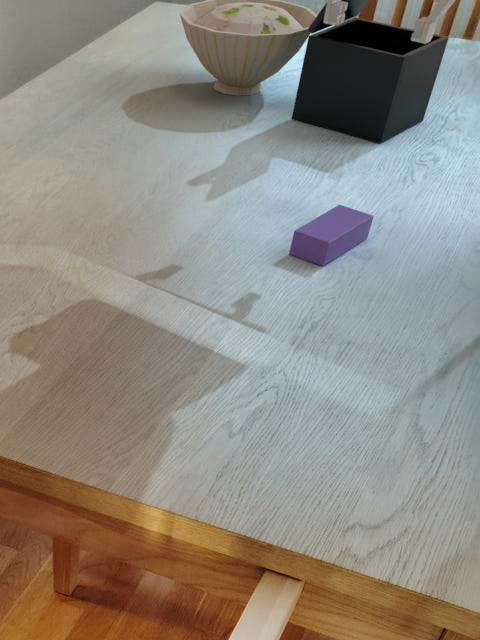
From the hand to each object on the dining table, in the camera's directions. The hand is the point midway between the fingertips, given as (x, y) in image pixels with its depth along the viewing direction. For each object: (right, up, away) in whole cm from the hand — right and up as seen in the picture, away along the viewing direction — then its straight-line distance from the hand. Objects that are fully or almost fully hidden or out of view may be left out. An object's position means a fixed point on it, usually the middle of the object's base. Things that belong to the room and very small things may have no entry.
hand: (375, 32), depth 90 cm
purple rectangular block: (-2, -18, +7) cm, 20 cm away
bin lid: (+9, +22, +21) cm, 32 cm away
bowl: (-3, +20, +42) cm, 46 cm away
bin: (+11, +10, +32) cm, 35 cm away
